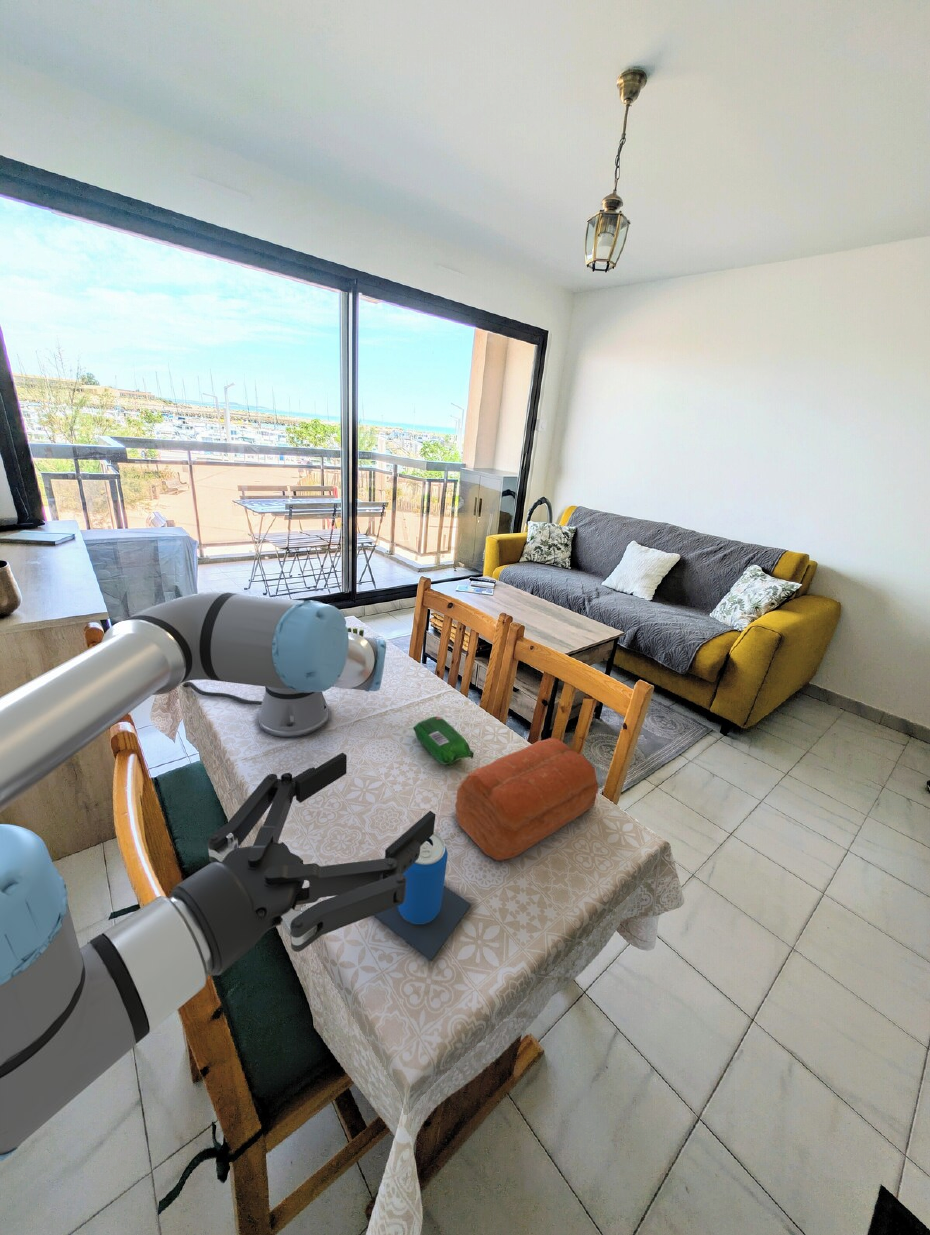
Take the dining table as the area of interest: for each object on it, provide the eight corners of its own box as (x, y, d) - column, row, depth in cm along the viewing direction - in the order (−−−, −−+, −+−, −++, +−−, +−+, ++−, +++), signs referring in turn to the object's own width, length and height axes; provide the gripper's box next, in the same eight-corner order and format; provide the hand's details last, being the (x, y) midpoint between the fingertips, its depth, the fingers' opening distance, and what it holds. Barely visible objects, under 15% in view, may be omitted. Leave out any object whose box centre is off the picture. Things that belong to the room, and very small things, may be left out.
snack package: (446, 777, 97) (449, 756, 95) (409, 735, 108) (411, 716, 106) (474, 766, 101) (477, 746, 99) (435, 727, 112) (437, 708, 110)
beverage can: (438, 884, 73) (445, 826, 69) (443, 925, 67) (451, 864, 63) (396, 888, 72) (400, 828, 67) (398, 929, 66) (403, 867, 62)
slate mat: (365, 909, 69) (365, 907, 68) (409, 863, 77) (409, 861, 76) (431, 961, 63) (431, 959, 63) (470, 905, 71) (471, 903, 71)
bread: (601, 808, 93) (612, 765, 89) (501, 873, 77) (510, 824, 73) (543, 763, 104) (551, 723, 100) (446, 812, 88) (451, 766, 84)
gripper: (126, 876, 44) (314, 766, 60) (288, 1095, 31) (471, 879, 48) (112, 815, 41) (313, 717, 58) (284, 1027, 28) (480, 823, 45)
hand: (385, 790), depth 53 cm, fingers open, 13 cm apart
